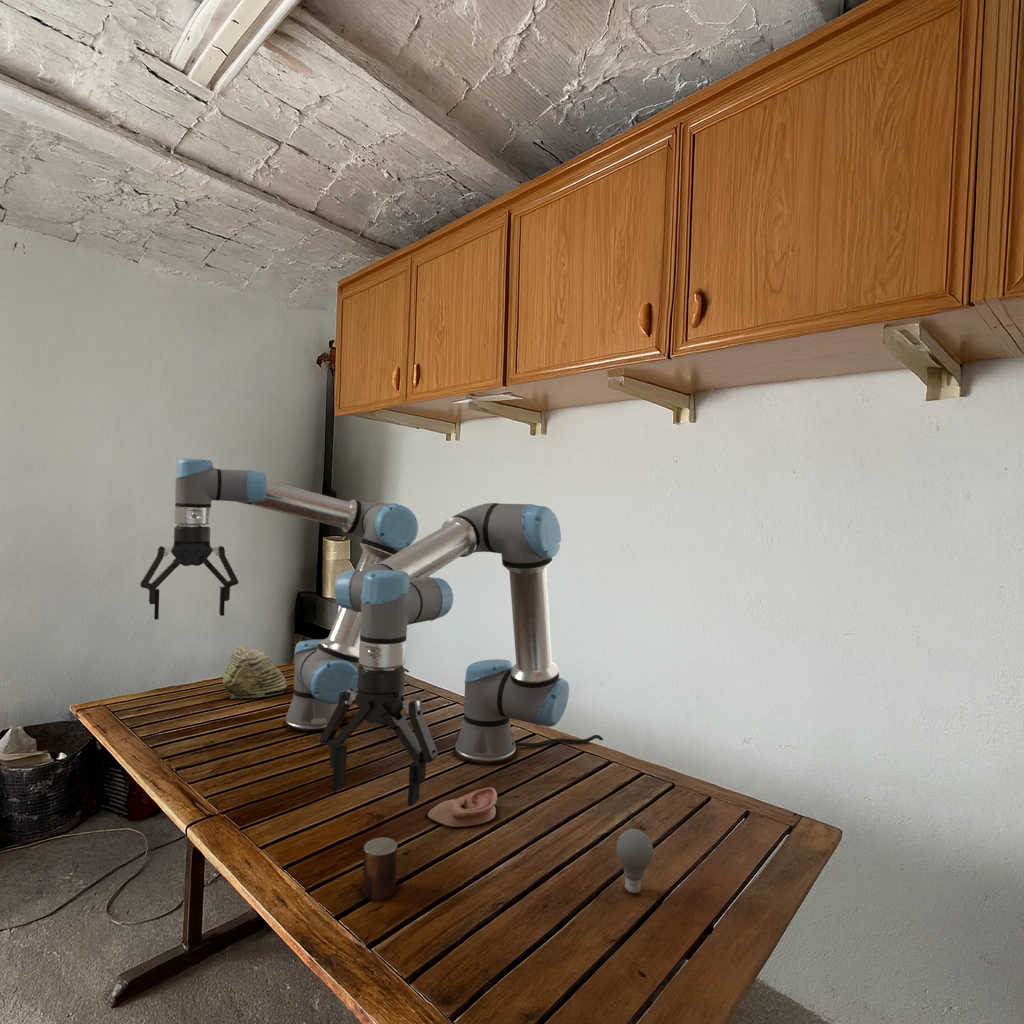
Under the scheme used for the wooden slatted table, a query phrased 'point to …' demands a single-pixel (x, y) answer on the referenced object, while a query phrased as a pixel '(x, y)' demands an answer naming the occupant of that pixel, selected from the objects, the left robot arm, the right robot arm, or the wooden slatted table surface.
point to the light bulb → (634, 857)
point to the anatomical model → (466, 809)
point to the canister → (379, 868)
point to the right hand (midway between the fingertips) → (375, 795)
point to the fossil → (252, 674)
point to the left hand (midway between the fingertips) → (189, 616)
